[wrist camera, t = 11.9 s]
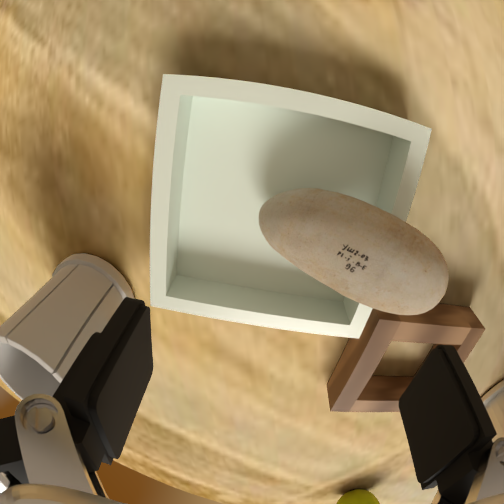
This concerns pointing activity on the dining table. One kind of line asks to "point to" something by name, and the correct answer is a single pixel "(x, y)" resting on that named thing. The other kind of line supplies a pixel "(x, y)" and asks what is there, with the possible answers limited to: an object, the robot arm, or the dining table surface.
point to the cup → (58, 323)
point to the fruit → (358, 497)
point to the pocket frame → (376, 343)
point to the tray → (263, 195)
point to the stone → (356, 249)
